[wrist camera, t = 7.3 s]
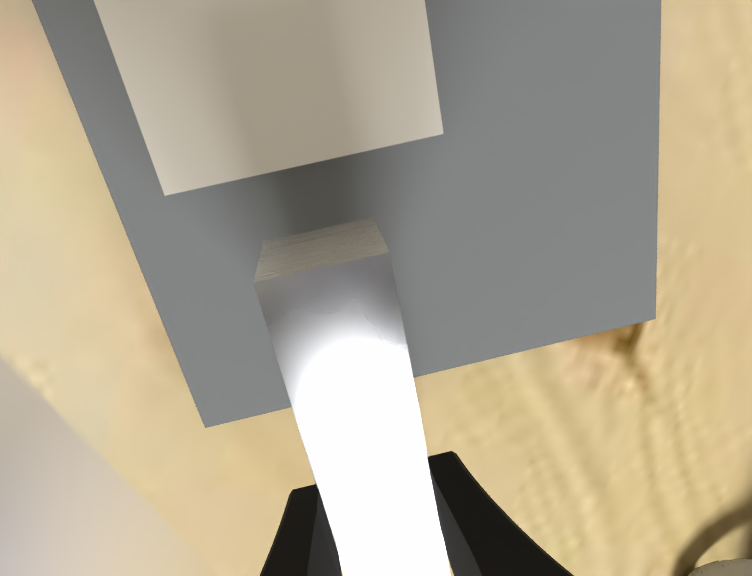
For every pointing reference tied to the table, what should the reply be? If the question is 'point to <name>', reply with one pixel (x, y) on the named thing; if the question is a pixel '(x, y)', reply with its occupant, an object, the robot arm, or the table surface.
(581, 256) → the mat
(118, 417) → the table surface
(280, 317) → the bar
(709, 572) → the ceramic mug
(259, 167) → the tile
